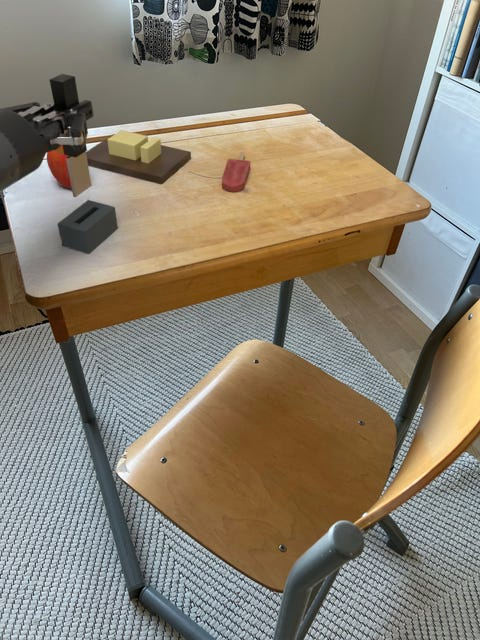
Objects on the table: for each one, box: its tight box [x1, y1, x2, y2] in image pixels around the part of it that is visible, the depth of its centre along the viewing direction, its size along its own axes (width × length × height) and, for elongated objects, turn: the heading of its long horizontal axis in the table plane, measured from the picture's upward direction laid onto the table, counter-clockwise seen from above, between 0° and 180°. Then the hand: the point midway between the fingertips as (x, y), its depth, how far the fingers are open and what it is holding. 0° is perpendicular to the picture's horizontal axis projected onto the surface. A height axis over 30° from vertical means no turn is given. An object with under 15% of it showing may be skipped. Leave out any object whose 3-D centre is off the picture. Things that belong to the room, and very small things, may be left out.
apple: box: [46, 145, 72, 189], centre depth 91 cm, size 6×6×8 cm
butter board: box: [86, 133, 192, 185], centre depth 101 cm, size 18×12×2 cm, turn 67°
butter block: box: [106, 129, 149, 160], centre depth 100 cm, size 6×5×3 cm
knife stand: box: [56, 199, 119, 255], centre depth 80 cm, size 5×8×4 cm, turn 157°
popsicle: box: [221, 151, 251, 193], centre depth 99 cm, size 4×2×15 cm
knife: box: [49, 73, 92, 198], centre depth 71 cm, size 2×4×16 cm, turn 157°
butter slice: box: [140, 137, 162, 164], centre depth 98 cm, size 2×5×3 cm, turn 157°
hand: (81, 105), depth 70 cm, fingers closed on knife, 2 cm apart
